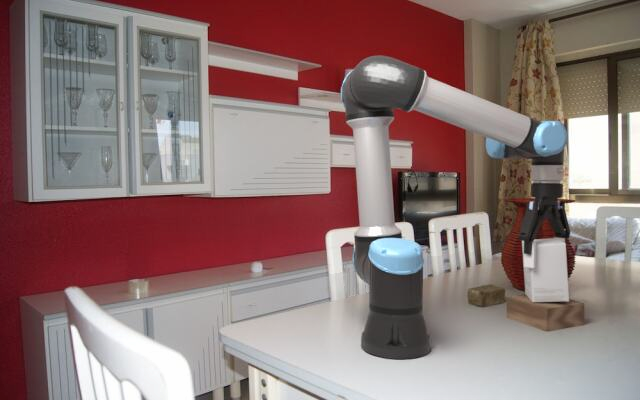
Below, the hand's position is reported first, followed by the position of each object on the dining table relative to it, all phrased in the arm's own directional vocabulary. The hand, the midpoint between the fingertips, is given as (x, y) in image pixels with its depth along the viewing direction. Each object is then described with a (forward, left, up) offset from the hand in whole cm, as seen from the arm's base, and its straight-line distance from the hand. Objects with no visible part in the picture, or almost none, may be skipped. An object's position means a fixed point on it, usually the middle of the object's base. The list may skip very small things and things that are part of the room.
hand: (544, 264), depth 128 cm
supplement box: (+1, 0, -9) cm, 9 cm away
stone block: (+4, +20, -15) cm, 26 cm away
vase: (+34, +22, -15) cm, 44 cm away
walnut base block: (0, 0, -15) cm, 15 cm away
